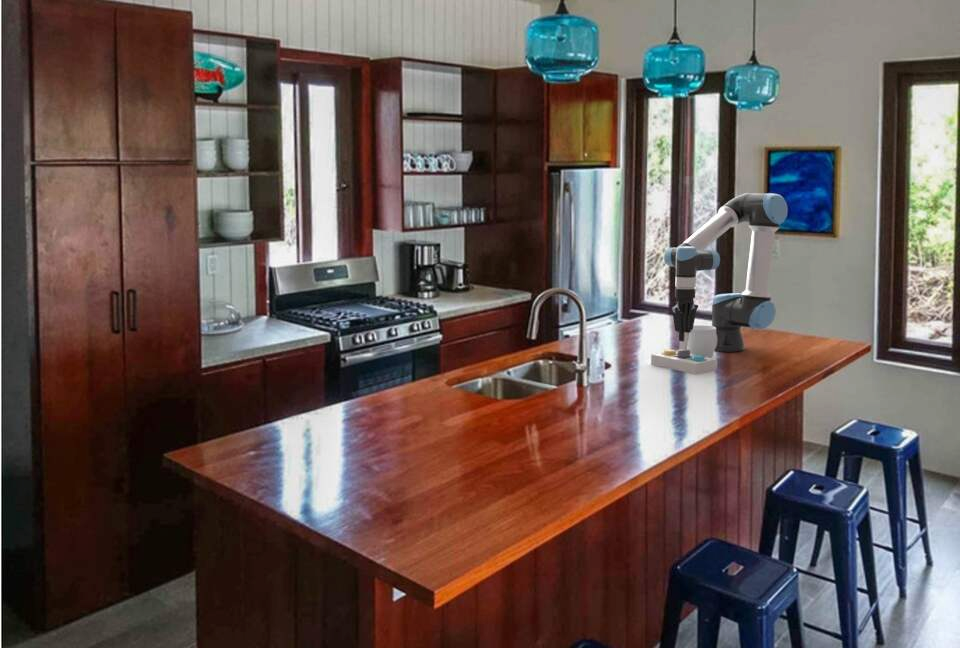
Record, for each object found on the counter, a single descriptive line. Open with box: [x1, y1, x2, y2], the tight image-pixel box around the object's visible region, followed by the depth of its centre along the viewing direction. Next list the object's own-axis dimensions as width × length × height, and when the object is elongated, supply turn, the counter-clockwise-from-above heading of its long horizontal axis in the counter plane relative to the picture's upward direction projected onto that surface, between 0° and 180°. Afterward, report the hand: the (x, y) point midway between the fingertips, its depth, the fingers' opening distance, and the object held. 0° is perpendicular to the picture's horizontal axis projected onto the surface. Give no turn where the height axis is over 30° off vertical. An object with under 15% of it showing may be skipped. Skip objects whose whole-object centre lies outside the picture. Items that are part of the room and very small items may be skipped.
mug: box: [687, 324, 717, 358], centre depth 352 cm, size 15×11×13 cm
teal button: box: [691, 355, 705, 362], centre depth 334 cm, size 5×5×4 cm
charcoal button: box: [676, 348, 690, 359], centre depth 340 cm, size 5×5×4 cm
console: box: [650, 350, 718, 375], centre depth 340 cm, size 12×22×4 cm, turn 36°
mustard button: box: [662, 349, 677, 356], centre depth 346 cm, size 5×5×4 cm
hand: (683, 349), depth 339 cm, fingers closed
